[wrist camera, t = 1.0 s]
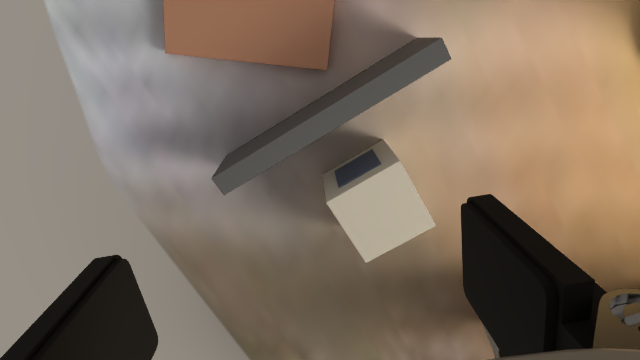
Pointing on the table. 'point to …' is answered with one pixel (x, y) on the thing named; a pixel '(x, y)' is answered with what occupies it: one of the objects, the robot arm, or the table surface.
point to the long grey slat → (331, 111)
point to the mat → (251, 30)
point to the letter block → (375, 201)
